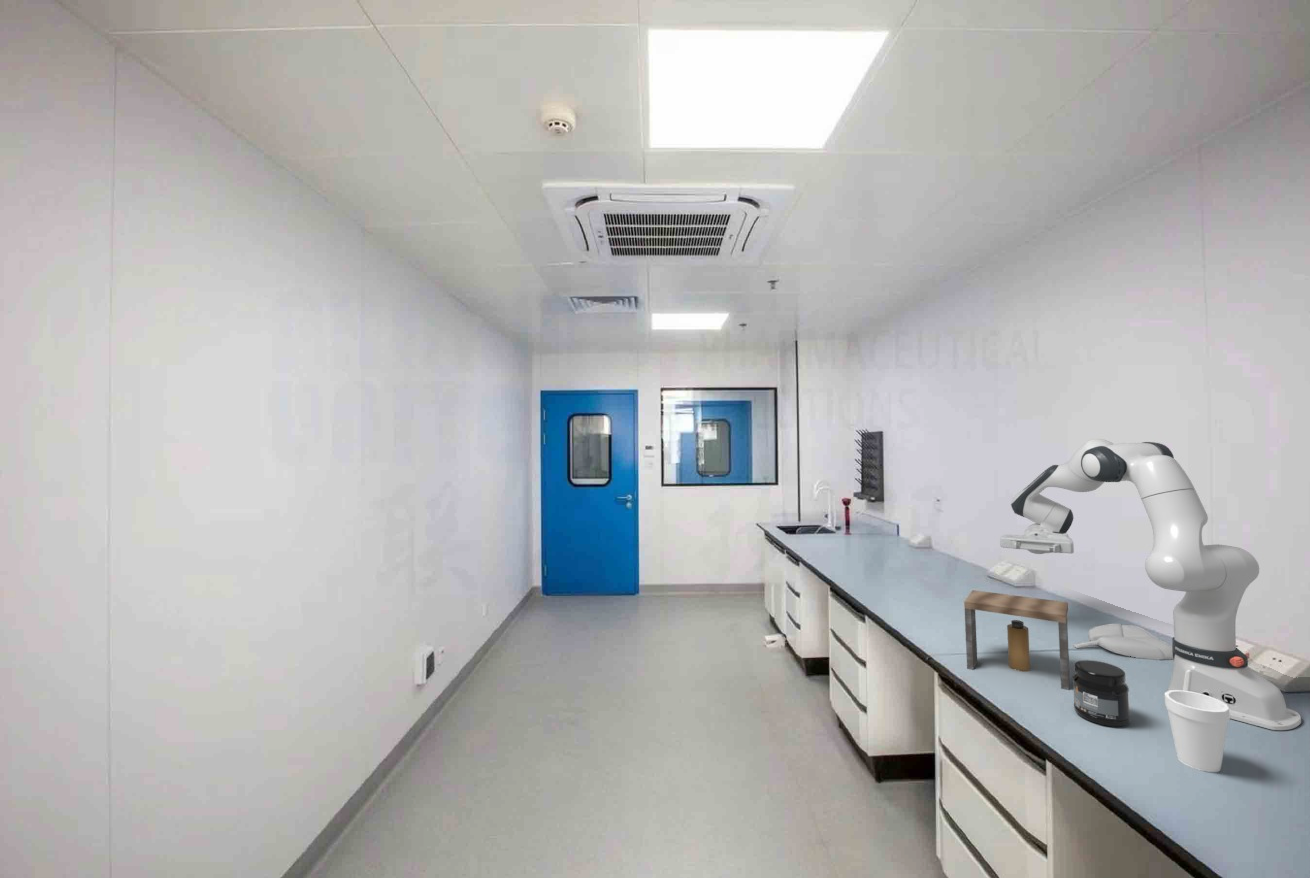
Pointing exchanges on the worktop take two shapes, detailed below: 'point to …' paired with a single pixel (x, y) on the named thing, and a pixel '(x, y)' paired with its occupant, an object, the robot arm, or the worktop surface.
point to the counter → (1017, 608)
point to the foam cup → (1198, 728)
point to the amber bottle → (1018, 646)
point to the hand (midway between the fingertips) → (1034, 548)
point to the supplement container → (1101, 693)
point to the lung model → (1128, 641)
